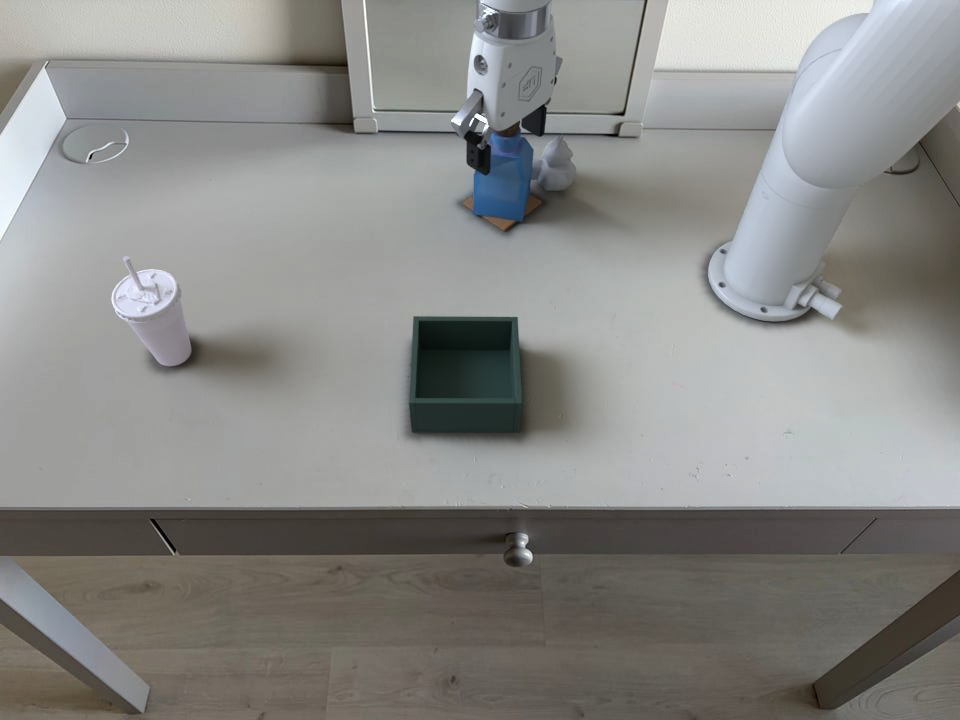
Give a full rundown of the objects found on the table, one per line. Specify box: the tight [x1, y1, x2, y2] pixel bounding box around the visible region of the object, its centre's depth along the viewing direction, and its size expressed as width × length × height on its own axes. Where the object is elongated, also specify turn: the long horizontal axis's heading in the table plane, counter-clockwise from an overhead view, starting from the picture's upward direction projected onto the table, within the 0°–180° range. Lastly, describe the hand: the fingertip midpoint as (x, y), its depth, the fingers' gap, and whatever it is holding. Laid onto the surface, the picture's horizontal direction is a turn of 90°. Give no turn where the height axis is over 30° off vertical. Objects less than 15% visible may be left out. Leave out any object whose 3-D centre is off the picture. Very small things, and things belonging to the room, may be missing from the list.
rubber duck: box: [531, 133, 578, 192], centre depth 98 cm, size 5×7×8 cm
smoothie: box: [110, 255, 192, 367], centre depth 78 cm, size 6×6×14 cm
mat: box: [462, 193, 542, 232], centre depth 98 cm, size 7×7×1 cm
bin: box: [408, 315, 523, 433], centre depth 79 cm, size 11×11×5 cm
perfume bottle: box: [472, 120, 535, 223], centre depth 94 cm, size 6×6×12 cm
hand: (506, 149), depth 92 cm, fingers open, 9 cm apart
